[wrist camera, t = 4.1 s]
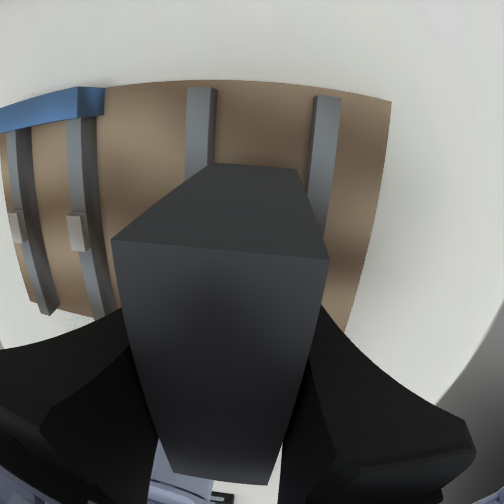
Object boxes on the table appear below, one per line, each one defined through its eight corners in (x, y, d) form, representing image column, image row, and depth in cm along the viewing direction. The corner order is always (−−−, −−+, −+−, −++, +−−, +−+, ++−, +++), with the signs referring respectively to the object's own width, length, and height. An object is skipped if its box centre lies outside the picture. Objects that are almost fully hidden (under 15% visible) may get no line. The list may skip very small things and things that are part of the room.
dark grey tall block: (273, 345, 13) (267, 485, 7) (210, 338, 14) (173, 472, 7) (296, 169, 10) (330, 259, 4) (211, 162, 10) (110, 239, 4)
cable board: (336, 342, 19) (343, 378, 16) (35, 296, 20) (13, 318, 17) (386, 102, 12) (413, 100, 9) (6, 112, 14) (-27, 118, 11)
